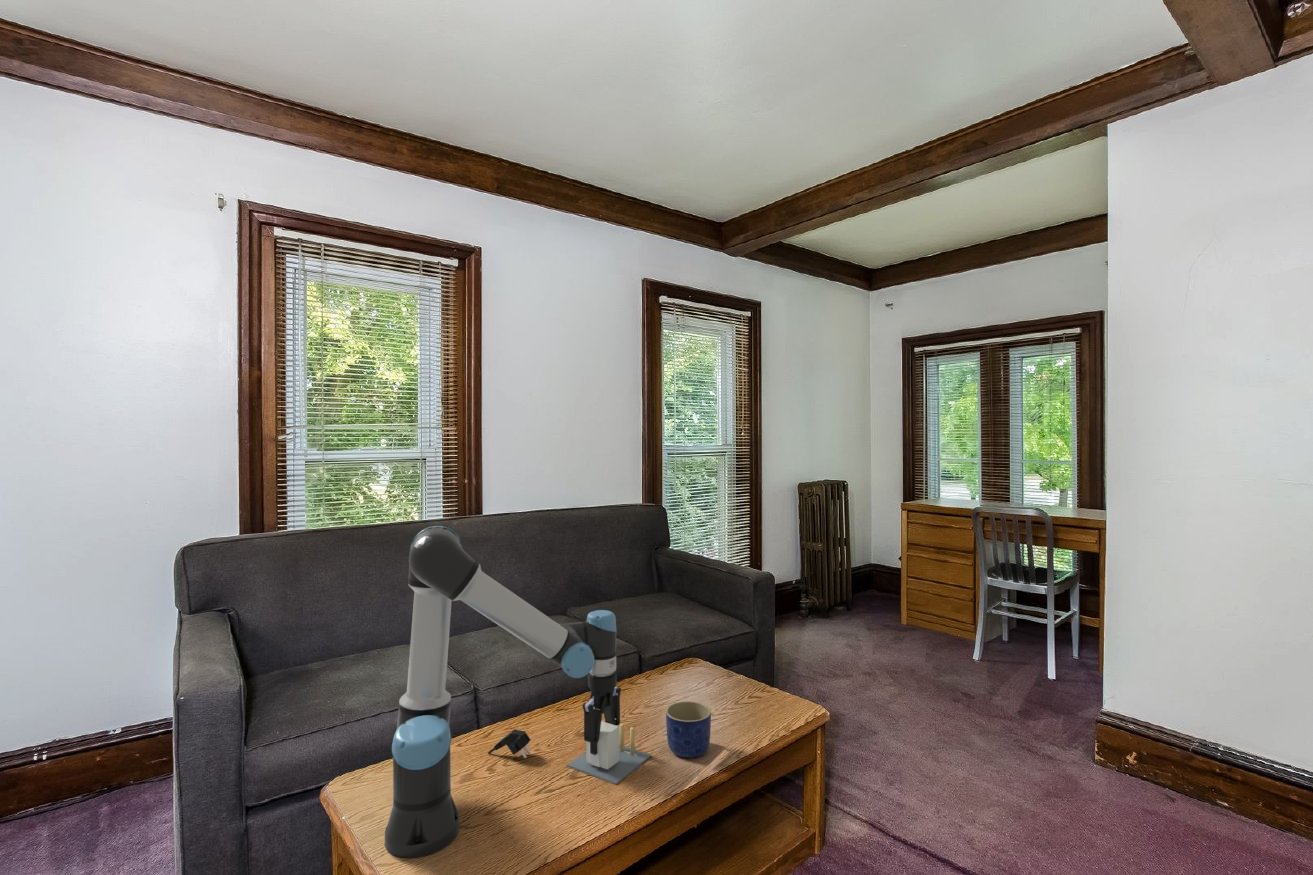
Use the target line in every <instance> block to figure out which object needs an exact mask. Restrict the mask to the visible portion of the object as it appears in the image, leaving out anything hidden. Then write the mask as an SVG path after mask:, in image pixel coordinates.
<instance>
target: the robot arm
mask: <svg viewBox="0 0 1313 875" xmlns="http://www.w3.org/2000/svg"><path fill="white" fill-rule="evenodd" d="M408 566H409V567H408V568H409V569H408V578H407V579H408V581H407V582H408V584H407V585H408V587H409V588H410V589H411V590H413V593H414V594H413V607H412V620H411V633H410V644H409V658H408V660H409V661H408V672H407V683H406V684H407V686H406V692H404V694H403V695H402V696H401V697H400V698H399V702H398V715H397V722H396V731H395V733H394V734H393V735H394V736H393V739H392V744H391V753H392V768H393V769H392V777H393V778H392V780H393V781H392V782H393V784H392V786H393V787H392V788H393V790H392V791H393V792H392V796H393V797H392V800H393V801H392V802H393V804H392V808H391V812H390V814H389V819H388V823H387V825H386V828H385V829H384V830H385V831H384V847H385V850H386V851H387V853H388V854H391V855H392V856H394V857H397V858H402V859H414V858H421V857H425V856H428V855H431V854H434V853H436V852H438V851H440V850H442V849H444V848H446V847H447V846H448V845H449V844H451V843H452V842H453V841H454V840H455V839H456V837H457V835H458V834H459V831H460V816H459V815H460V814H459V811H458V809H457V807H456V803H455V800H454V798H453V796H452V792H451V789H452V788H451V782H452V781H451V779H452V778H451V743H452V734H451V733H452V732H451V728H450V720H451V719H450V718H451V706H452V705H451V702H452V696H451V694H450V693H449V692H448V691H447V690H446V683H447V682H446V681H447V670H448V656H449V640H450V627H451V615H452V614H451V612H452V602H456V601H461V602H463V603H464V604H466V605H467V606H469V607H470V608H472V609H473V610H475V611H476V612H478V613H479V614H481V615H482V616H484V617H486V618H487V619H488V620H490V621H491V622H493V623H495V624H496V625H498V626H499V627H501V628H502V629H503V630H505V631H507V632H508V633H510V634H511V635H513V636H514V637H516V638H518V639H519V640H520V641H522V642H523V643H525V644H526V645H528V646H529V647H531V648H533V649H534V650H535V651H537V652H539V653H540V654H542V655H543V656H544V657H546V658H548V659H549V660H550V661H552V662H553V663H554V664H556V665H557V666H559V667H561V669H562V670H563V672H564V673H565V674H567V676H569V677H570V678H573V679H582V678H584V677H585V676H587V687H588V688H589V689H590V695H589V700H588V701H587V702H583V704H582V710H583V741H585V742H586V741H587V742H590V753H591V765H594V766H597V767H601V741H600V740H599V734H600V727H601V721H603V720H602V718H603V717H604V722H606V723H609V724H613V725H616V726H620V724H621V703H620V702H621V701H620V700H621V699H620V698H621V692H622V689H621V687H617V683H618V682H617V680H618V679H617V674H618V673H617V671H616V670H617V631H618V629H617V620H616V619H617V618H616V615H615V614H614V612H612V611H610V610H607V609H606V610H605V609H597V610H594V611H590V612H588V614H587V617H586V620H584V621H579V622H568V623H561V624H559V623H558V622H557V621H555V620H553V619H552V618H550V617H549V616H547V615H546V614H544V613H543V612H542V611H540V610H539V609H538V608H536V607H535V606H533V605H531V604H530V603H529V602H527V601H526V600H524V599H523V598H521V597H520V596H519V595H517V594H515V593H514V592H513V591H512V590H510V589H508V588H507V587H505V585H502V584H501V583H499V582H498V581H497V580H495V579H493V577H491V576H489V575H488V574H486V573H485V572H484V571H482V567H481V563H479V562H478V561H476V560H475V559H474V558H472V556H470V555H469V554H468V553H467V552H466V550H464V549H463V545H462V541H461V538H460V536H459V535H458V534H457V533H456V532H455V531H454V530H453V529H450V528H448V527H447V526H441V525H434V526H428V527H426V528H424V529H423V530H421V531H420V532H418V533H417V534H416V535H415V536H414V537H413V540H412V541H411V544H410V547H409V555H408Z"/></svg>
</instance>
